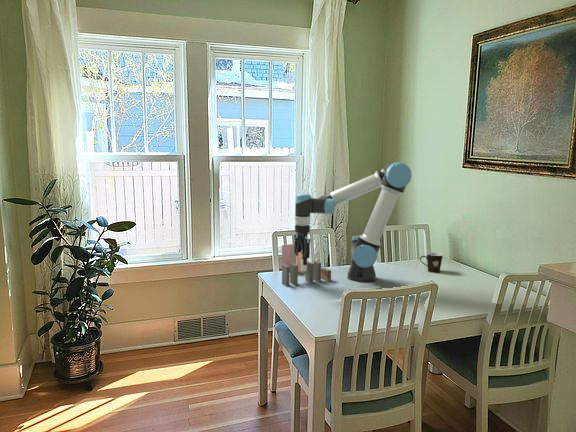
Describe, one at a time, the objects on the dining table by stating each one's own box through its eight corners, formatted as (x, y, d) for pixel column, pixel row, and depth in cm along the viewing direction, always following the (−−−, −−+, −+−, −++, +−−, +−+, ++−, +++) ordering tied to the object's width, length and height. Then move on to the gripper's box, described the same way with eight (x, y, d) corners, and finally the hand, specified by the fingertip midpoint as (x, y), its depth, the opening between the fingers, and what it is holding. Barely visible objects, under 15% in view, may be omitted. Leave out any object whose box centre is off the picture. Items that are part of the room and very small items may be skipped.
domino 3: (308, 280, 227) (308, 261, 226) (313, 282, 223) (313, 263, 221) (305, 280, 226) (305, 262, 225) (310, 283, 222) (310, 264, 221)
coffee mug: (443, 270, 250) (444, 253, 248) (439, 274, 243) (440, 256, 241) (422, 267, 256) (423, 251, 255) (418, 270, 249) (419, 253, 247)
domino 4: (316, 279, 229) (316, 260, 228) (320, 281, 225) (321, 263, 223) (313, 279, 228) (313, 261, 227) (317, 282, 224) (318, 263, 222)
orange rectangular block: (301, 273, 219) (302, 253, 218) (297, 270, 224) (297, 251, 222) (305, 272, 220) (305, 253, 219) (300, 270, 224) (301, 251, 223)
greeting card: (299, 269, 249) (300, 243, 247) (305, 272, 243) (305, 246, 241) (281, 271, 245) (281, 244, 243) (286, 274, 238) (286, 247, 236)
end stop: (324, 277, 232) (324, 266, 231) (330, 281, 226) (331, 270, 225) (320, 278, 231) (321, 267, 231) (327, 281, 225) (327, 270, 224)
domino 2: (293, 282, 223) (293, 263, 222) (297, 284, 219) (297, 265, 217) (289, 282, 223) (290, 263, 221) (294, 285, 218) (294, 265, 217)
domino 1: (285, 283, 221) (285, 264, 220) (289, 286, 217) (289, 266, 216) (281, 283, 221) (282, 264, 219) (286, 286, 216) (286, 266, 215)
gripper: (288, 222, 225) (287, 266, 228) (304, 227, 209) (302, 274, 212) (301, 221, 228) (299, 264, 231) (317, 226, 212) (316, 273, 215)
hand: (301, 269), depth 222 cm, fingers closed on orange rectangular block, 5 cm apart
